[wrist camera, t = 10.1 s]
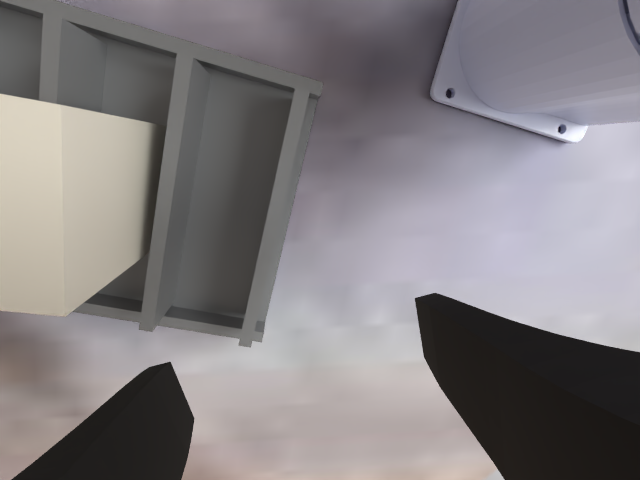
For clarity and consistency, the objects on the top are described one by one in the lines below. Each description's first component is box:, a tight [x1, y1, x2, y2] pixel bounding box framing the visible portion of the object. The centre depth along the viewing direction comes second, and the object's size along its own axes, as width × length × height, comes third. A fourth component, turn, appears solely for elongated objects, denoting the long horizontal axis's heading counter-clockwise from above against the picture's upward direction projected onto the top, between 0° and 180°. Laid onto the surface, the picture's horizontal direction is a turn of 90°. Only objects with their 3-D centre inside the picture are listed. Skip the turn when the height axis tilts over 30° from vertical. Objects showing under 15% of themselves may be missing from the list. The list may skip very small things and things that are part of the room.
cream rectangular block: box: [0, 94, 167, 317], centre depth 13 cm, size 2×6×8 cm, turn 170°
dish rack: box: [0, 0, 323, 347], centre depth 15 cm, size 16×14×4 cm
